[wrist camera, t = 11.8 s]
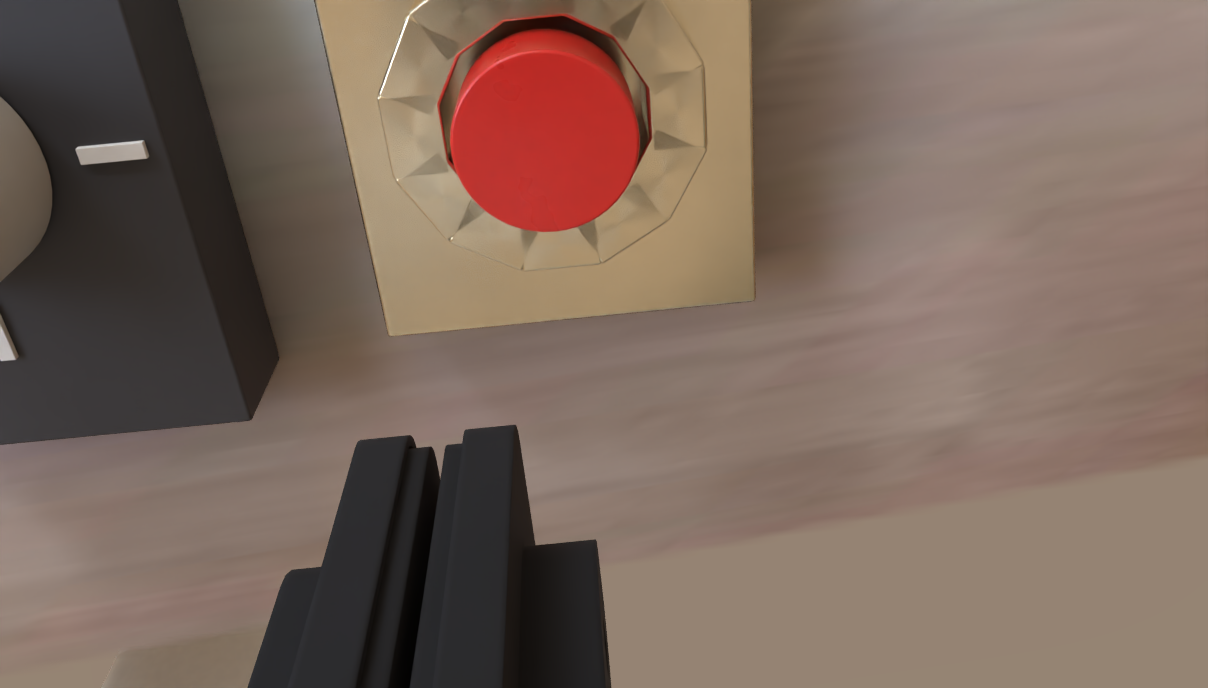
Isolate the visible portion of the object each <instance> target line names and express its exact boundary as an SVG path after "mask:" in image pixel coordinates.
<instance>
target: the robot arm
mask: <svg viewBox="0 0 1208 688" xmlns="http://www.w3.org/2000/svg"><path fill="white" fill-rule="evenodd" d="M610 679H611V678H610V666H609V654H608V643H607V631H606V621H605V611H604V601H603V592H602V583H601V574H600V565H599V557H598V548H597V541H596V540H586V541H576V542H566V543H556V544H546V545H536V546H535V540H534V533H533V526H532V520H531V513H530V506H529V500H528V493H527V486H526V480H525V473H524V467H523V460H522V453H521V447H520V440H519V434H518V430H517V427H516V425H508V426H498V427H488V428H478V429H468V430H465V431H464V436H463V443H462V444H452V445H447V446H446V448H445V453H444V459H443V466H442V473H441V480H440V476H439V471H438V466H437V461H436V457H435V453H434V450H433V448H432V447H422V448H416V444H415V442H414V439H413V437H412V436H411V435H407V436H397V437H387V438H377V439H367V440H360V441H358V443H357V445H356V447H355V451H354V454H353V458H352V461H351V465H350V468H349V472H348V475H347V479H346V482H345V486H344V489H343V493H342V496H341V500H340V504H339V507H338V511H337V514H336V518H335V521H334V525H333V528H332V532H331V535H330V539H329V542H328V546H327V549H326V553H325V557H324V560H323V564H322V567H316V568H306V569H296V570H291V571H290V572H289V573H288V574H286V576H285V578H284V580H283V582H282V585H281V587H280V590H279V593H278V596H277V599H276V602H275V605H274V608H273V611H272V615H271V618H270V621H269V624H268V627H267V630H266V633H265V636H264V639H263V642H262V645H261V648H260V651H259V654H258V657H257V660H256V663H255V667H254V670H253V673H252V676H251V679H250V682H249V685H248V688H611V680H610Z"/></svg>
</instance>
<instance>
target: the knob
mask: <svg viewBox="0 0 1208 688" xmlns="http://www.w3.org/2000/svg"><path fill="white" fill-rule="evenodd" d="M51 210H52V186H51V179H50V174H49V170H48V167H47V163H46V160H45V158H44V156H43V153H42V151H41V149H40V146H39V145H38V143H37V141H36V139H35V138H34V136H33V134H32V132H31V131H30V130H29V128H28V127H27V125H26V124H25V123H24V121H23V120H22V119H21V117H20V116H19V115H18V114H17V113H16V112H15V111H14V110H13V109H12V107H11V106H10V105H9V104H8V103H7V102H6V101H4V100H3V99H2V98H1V97H0V282H1V281H2V280H3V279H4V278H5V277H6V276H7V275H8V274H9V273H11V272H12V271H13V270H14V269H15V268H16V267H17V266H18V265H19V264H20V263H21V262H22V261H23V260H24V259H25V258H26V257H27V256H28V255H30V254H31V253H32V251H33V250H34V249H35V248H36V246H37V245H38V244H39V243H40V241H41V239H42V237H43V236H44V234H45V232H46V229H47V226H48V223H49V220H50V216H51Z"/></svg>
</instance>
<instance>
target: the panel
mask: <svg viewBox="0 0 1208 688" xmlns="http://www.w3.org/2000/svg"><path fill="white" fill-rule="evenodd" d="M0 97H1V98H2V99H3V100H4V101H6V102H7V103H8V104H9V105H10V106H11V107H12V109H13V110H14V111H15V112H16V113H17V114H18V115H19V116H20V117H21V119H22V120H23V121H24V123H25V124H26V125H27V127H28V128H29V130H30V131H31V132H32V134H33V136H34V138H35V139H36V141H37V143H38V145H39V146H40V149H41V151H42V153H43V156H44V158H45V160H46V163H47V167H48V170H49V174H50V179H51V186H52V210H51V216H50V220H49V223H48V226H47V229H46V232H45V234H44V236H43V237H42V239H41V241H40V243H39V244H38V245H37V246H36V248H35V249H34V250H33V251H32V253H31V254H30V255H28V256H27V257H26V258H25V259H24V260H23V261H22V262H21V263H20V264H19V265H18V266H17V267H16V268H15V269H14V270H13V271H12V272H11V273H9V274H8V275H7V276H6V277H5V278H4V279H3V280H2V281H1V282H0V445H4V444H14V443H24V442H35V441H45V440H55V439H65V438H76V437H86V436H96V435H107V434H117V433H127V432H137V431H148V430H158V429H168V428H179V427H189V426H199V425H210V424H220V423H230V422H240V421H249V420H251V419H252V418H253V416H254V413H255V411H256V409H257V407H258V405H259V402H260V400H261V398H262V396H263V394H264V391H265V389H266V387H267V385H268V383H269V380H270V378H271V376H272V374H273V372H274V369H275V367H276V365H277V363H278V361H279V356H278V352H277V349H276V345H275V342H274V338H273V335H272V331H271V328H270V324H269V321H268V317H267V314H266V310H265V307H264V303H263V300H262V296H261V293H260V289H259V286H258V282H257V279H256V275H255V272H254V268H253V265H252V261H251V258H250V254H249V251H248V247H247V244H246V240H245V237H244V233H243V230H242V226H241V223H240V219H239V216H238V212H237V209H236V205H235V202H234V198H233V195H232V191H231V188H230V184H229V181H228V177H227V174H226V170H225V167H224V163H223V160H222V156H221V153H220V149H219V146H218V142H217V139H216V135H215V132H214V128H213V125H212V121H211V118H210V114H209V111H208V107H207V104H206V100H205V97H204V93H203V90H202V86H201V83H200V79H199V76H198V72H197V69H196V65H195V62H194V58H193V55H192V51H191V48H190V45H189V41H188V38H187V34H186V31H185V27H184V24H183V20H182V17H181V13H180V10H179V6H178V3H177V0H0Z"/></svg>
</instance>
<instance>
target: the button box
mask: <svg viewBox="0 0 1208 688" xmlns="http://www.w3.org/2000/svg"><path fill="white" fill-rule="evenodd" d="M314 3H315V7H316V12H317V16H318V21H319V25H320V30H321V34H322V39H323V44H324V48H325V53H326V57H327V62H328V66H329V71H330V75H331V80H332V84H333V89H334V93H335V98H336V102H337V107H338V111H339V116H340V120H341V125H342V129H343V134H344V139H345V143H346V148H347V152H348V157H349V161H350V166H351V170H352V175H353V179H354V184H355V188H356V193H357V197H358V202H359V206H360V211H361V215H362V220H363V225H364V229H365V234H366V238H367V243H368V247H369V252H370V256H371V261H372V265H373V270H374V274H375V279H376V283H377V288H378V292H379V297H380V301H381V306H382V310H383V315H384V320H385V324H386V329H387V333H388V335H389V336H391V337H392V336H402V335H413V334H423V333H433V332H443V331H454V330H464V329H474V328H484V327H495V326H505V325H515V324H526V323H536V322H546V321H556V320H567V319H577V318H587V317H597V316H608V315H618V314H628V313H638V312H649V311H659V310H669V309H680V308H690V307H700V306H710V305H721V304H731V303H741V302H751V301H754V300H755V298H756V288H755V212H754V135H753V58H752V0H314ZM532 29H556V30H562V31H566V32H570V33H573V34H576V35H578V36H581V37H583V38H585V39H587V40H589V41H591V42H592V43H594V44H595V45H597V46H598V47H599V48H601V49H602V50H603V51H604V52H605V53H606V54H607V55H608V56H610V57H611V58H612V60H613V61H614V62H615V64H616V65H617V66H618V67H619V69H620V71H621V72H622V74H623V76H624V77H625V80H626V82H627V84H628V86H629V89H630V93H631V96H632V100H633V104H634V108H635V113H636V117H637V121H638V126H639V134H640V150H639V157H638V162H637V165H636V169H635V172H634V174H633V177H632V179H631V181H630V183H629V185H628V187H627V188H626V190H625V192H624V193H623V194H622V195H621V197H620V198H619V199H618V201H617V202H616V203H615V204H614V205H613V206H611V207H610V208H609V209H608V210H607V211H606V212H604V213H603V214H602V215H600V216H599V217H597V218H595V219H594V220H592V221H590V222H588V223H586V224H583V225H581V226H579V227H575V228H572V229H568V230H563V231H557V232H537V231H529V230H524V229H520V228H517V227H514V226H511V225H508V224H506V223H504V222H502V221H500V220H498V219H496V218H495V217H493V216H492V215H490V214H489V213H487V212H486V211H485V210H484V209H482V208H481V207H480V206H479V205H478V204H477V203H476V202H475V201H474V200H473V199H472V198H471V196H470V195H469V194H468V192H467V191H466V189H465V188H464V187H463V185H462V183H461V181H460V179H459V177H458V175H457V172H456V170H455V167H454V164H453V160H452V156H451V148H450V129H451V123H452V118H453V114H454V111H455V107H456V103H457V100H458V96H459V93H460V89H461V86H462V83H463V81H464V79H465V77H466V75H467V73H468V71H469V70H470V68H471V67H472V65H473V64H474V62H475V61H476V60H477V59H478V58H479V57H480V55H481V54H482V53H483V52H485V51H486V50H487V49H488V48H489V47H490V46H492V45H493V44H495V43H496V42H498V41H500V40H501V39H503V38H505V37H508V36H510V35H512V34H515V33H518V32H522V31H526V30H532Z"/></svg>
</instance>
